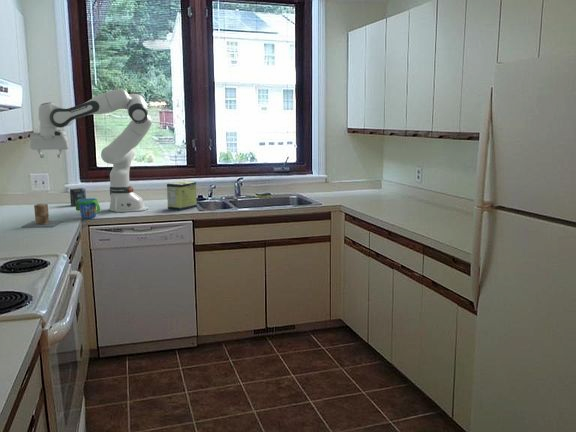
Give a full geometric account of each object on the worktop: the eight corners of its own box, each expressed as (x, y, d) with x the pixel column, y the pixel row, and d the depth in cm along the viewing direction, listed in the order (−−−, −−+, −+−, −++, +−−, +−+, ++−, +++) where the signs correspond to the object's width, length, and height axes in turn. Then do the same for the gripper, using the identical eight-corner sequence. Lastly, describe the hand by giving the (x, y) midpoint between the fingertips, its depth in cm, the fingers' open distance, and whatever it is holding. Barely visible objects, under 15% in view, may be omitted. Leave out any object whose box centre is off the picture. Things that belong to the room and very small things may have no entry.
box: (74, 206, 350) (73, 189, 348) (70, 205, 354) (69, 189, 352) (86, 205, 355) (85, 188, 353) (82, 204, 359) (81, 187, 357)
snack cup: (71, 217, 313) (69, 199, 312) (86, 214, 322) (85, 197, 321) (90, 220, 306) (89, 202, 304) (105, 217, 315) (104, 199, 313)
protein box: (197, 206, 348) (196, 181, 346) (180, 210, 335) (179, 184, 332) (184, 205, 354) (183, 180, 351) (167, 209, 340) (166, 183, 337)
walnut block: (49, 222, 297) (47, 203, 295) (45, 224, 292) (43, 205, 290) (39, 222, 297) (37, 204, 295) (35, 224, 292) (34, 205, 290)
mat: (62, 221, 302) (62, 220, 302) (53, 227, 288) (53, 226, 288) (32, 222, 301) (32, 221, 301) (21, 227, 288) (21, 226, 287)
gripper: (27, 132, 306) (29, 158, 309) (65, 132, 307) (67, 158, 309) (31, 132, 312) (34, 157, 315) (69, 132, 313) (71, 157, 316)
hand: (50, 157), depth 312 cm, fingers open, 8 cm apart
